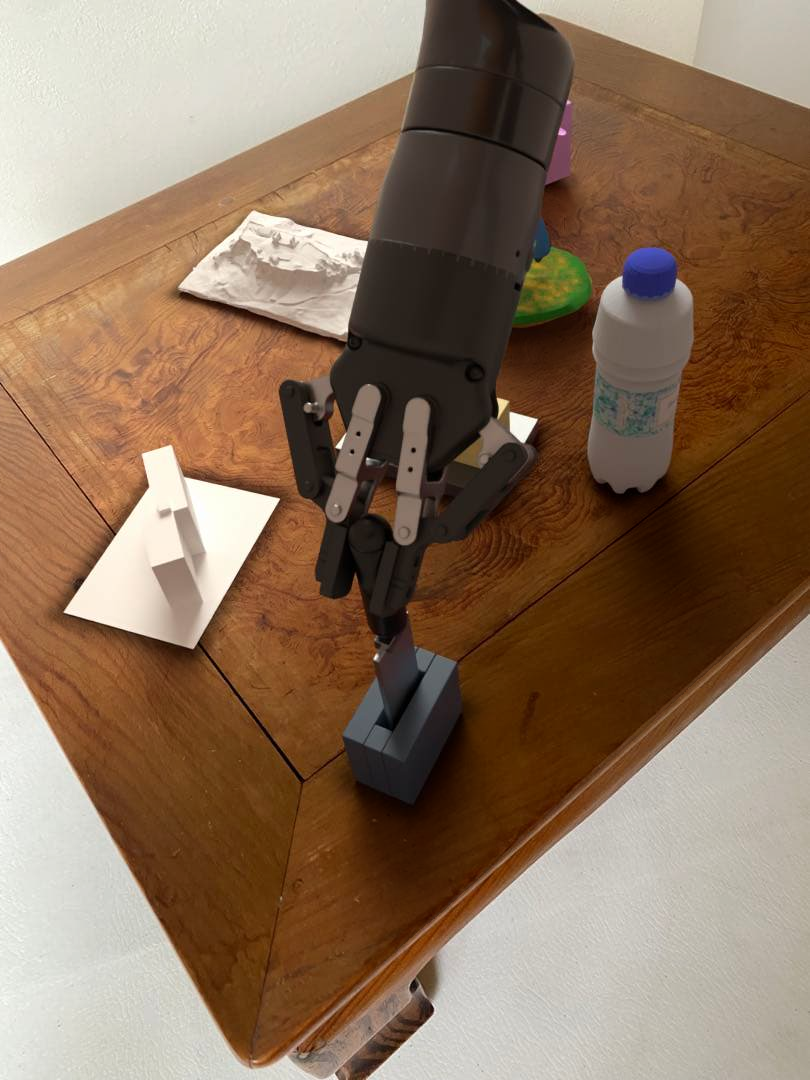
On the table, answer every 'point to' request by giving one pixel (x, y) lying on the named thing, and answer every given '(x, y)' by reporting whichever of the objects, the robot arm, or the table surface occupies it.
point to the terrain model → (283, 274)
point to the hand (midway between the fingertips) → (359, 603)
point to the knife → (384, 619)
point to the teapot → (562, 148)
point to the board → (463, 473)
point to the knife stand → (405, 731)
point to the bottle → (639, 370)
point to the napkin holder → (173, 555)
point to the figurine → (551, 284)
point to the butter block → (471, 453)
